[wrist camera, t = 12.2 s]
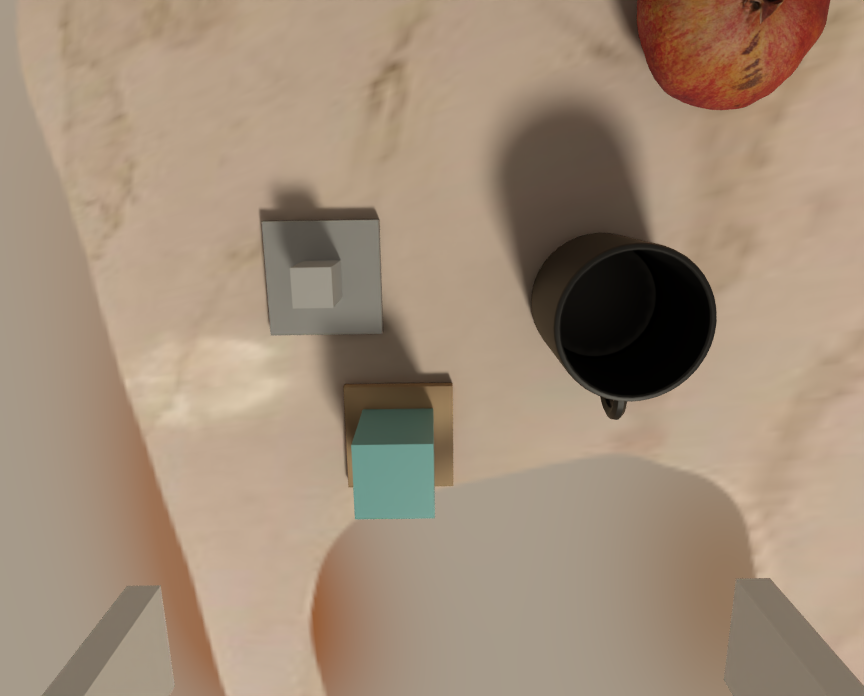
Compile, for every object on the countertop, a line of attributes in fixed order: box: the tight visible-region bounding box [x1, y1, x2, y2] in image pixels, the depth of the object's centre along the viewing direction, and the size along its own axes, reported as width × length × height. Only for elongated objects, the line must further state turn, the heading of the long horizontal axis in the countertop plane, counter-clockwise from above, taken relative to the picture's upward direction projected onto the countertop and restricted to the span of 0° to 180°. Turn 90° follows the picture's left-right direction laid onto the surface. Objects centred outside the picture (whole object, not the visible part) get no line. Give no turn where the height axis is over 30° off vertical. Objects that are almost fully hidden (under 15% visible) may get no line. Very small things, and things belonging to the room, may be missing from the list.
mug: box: [531, 233, 716, 420], centre depth 40 cm, size 9×12×9 cm
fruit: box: [637, 0, 830, 110], centre depth 35 cm, size 11×10×10 cm
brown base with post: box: [343, 383, 453, 487], centre depth 43 cm, size 8×8×7 cm
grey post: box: [262, 219, 383, 335], centre depth 41 cm, size 8×8×5 cm
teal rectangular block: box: [351, 408, 435, 519], centre depth 43 cm, size 5×5×7 cm
